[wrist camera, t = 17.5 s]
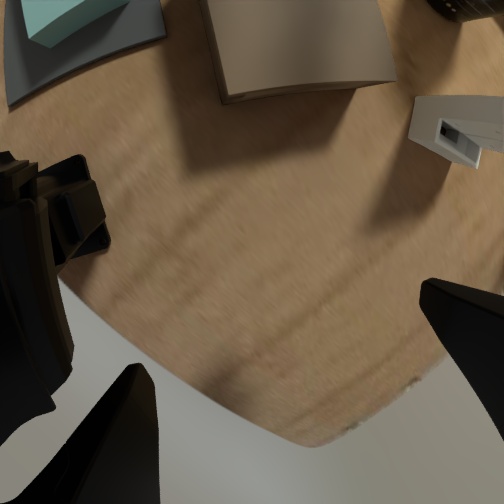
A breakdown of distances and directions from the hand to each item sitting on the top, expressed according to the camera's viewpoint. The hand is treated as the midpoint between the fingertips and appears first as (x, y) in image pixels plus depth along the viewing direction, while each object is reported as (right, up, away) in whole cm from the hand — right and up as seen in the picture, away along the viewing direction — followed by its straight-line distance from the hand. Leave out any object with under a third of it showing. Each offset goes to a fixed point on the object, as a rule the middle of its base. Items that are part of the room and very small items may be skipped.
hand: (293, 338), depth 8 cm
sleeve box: (0, +17, +6) cm, 18 cm away
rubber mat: (-14, +23, +1) cm, 27 cm away
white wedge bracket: (+14, +12, +11) cm, 21 cm away
